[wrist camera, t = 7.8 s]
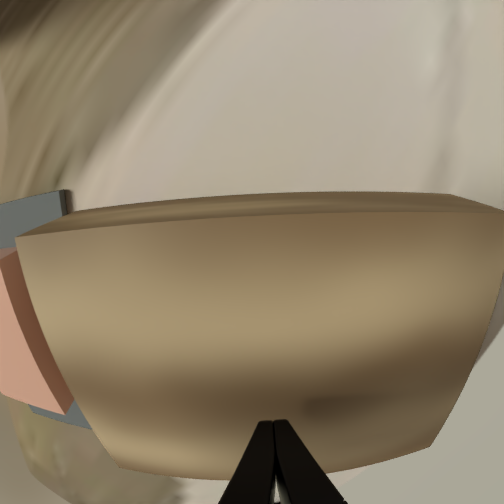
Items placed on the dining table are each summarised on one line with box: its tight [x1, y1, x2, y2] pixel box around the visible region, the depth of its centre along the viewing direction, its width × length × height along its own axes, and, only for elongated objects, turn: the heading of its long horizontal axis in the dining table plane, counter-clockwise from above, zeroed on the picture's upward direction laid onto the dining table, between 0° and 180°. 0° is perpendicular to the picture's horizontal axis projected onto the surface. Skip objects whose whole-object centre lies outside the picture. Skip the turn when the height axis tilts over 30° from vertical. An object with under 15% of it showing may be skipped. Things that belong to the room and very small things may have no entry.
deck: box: [15, 192, 504, 480], centre depth 10 cm, size 12×16×4 cm
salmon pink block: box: [0, 247, 74, 415], centre depth 11 cm, size 9×6×2 cm, turn 3°
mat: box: [0, 190, 93, 430], centre depth 12 cm, size 15×10×1 cm, turn 3°
